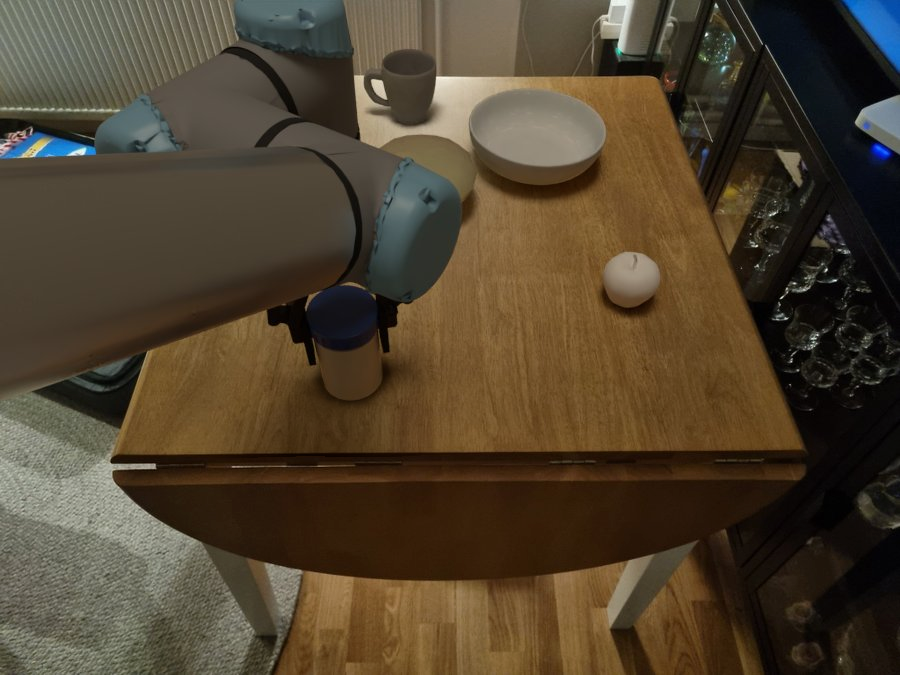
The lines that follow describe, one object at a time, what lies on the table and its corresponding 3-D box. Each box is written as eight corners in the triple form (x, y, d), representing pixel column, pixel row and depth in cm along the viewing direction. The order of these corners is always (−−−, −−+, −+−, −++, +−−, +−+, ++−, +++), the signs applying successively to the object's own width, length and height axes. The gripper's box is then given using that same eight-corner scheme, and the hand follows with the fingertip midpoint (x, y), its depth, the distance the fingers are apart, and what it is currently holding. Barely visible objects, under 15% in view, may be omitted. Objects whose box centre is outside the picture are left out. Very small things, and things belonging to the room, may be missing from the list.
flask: (473, 170, 101) (478, 254, 90) (371, 170, 101) (364, 254, 90) (476, 119, 94) (481, 203, 83) (366, 118, 93) (357, 203, 83)
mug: (437, 102, 114) (437, 49, 106) (434, 131, 108) (434, 77, 101) (369, 100, 114) (365, 46, 106) (363, 128, 108) (357, 74, 101)
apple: (589, 282, 87) (601, 237, 80) (639, 275, 88) (654, 230, 81) (608, 321, 82) (622, 277, 76) (660, 313, 83) (678, 268, 77)
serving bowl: (551, 222, 94) (558, 184, 89) (440, 166, 102) (440, 127, 97) (622, 157, 104) (632, 119, 99) (516, 111, 113) (520, 73, 107)
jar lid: (299, 309, 70) (296, 297, 68) (365, 289, 72) (363, 276, 70) (320, 360, 66) (318, 348, 64) (390, 337, 68) (389, 324, 66)
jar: (347, 411, 73) (336, 354, 65) (311, 374, 76) (295, 315, 68) (394, 377, 76) (390, 318, 68) (357, 343, 79) (349, 282, 71)
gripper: (428, 142, 59) (430, 310, 76) (196, 171, 55) (254, 339, 73) (447, 194, 54) (444, 360, 72) (195, 228, 51) (257, 393, 68)
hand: (348, 349), depth 72 cm, fingers closed on jar lid, 7 cm apart
